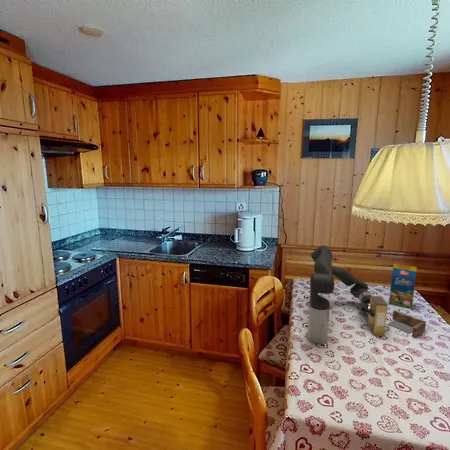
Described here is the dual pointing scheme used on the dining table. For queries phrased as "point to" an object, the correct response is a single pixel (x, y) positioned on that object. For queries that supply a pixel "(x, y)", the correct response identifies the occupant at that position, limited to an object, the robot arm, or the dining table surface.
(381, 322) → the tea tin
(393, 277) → the blue food package
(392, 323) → the mat
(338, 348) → the dining table surface
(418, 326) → the corner arena
